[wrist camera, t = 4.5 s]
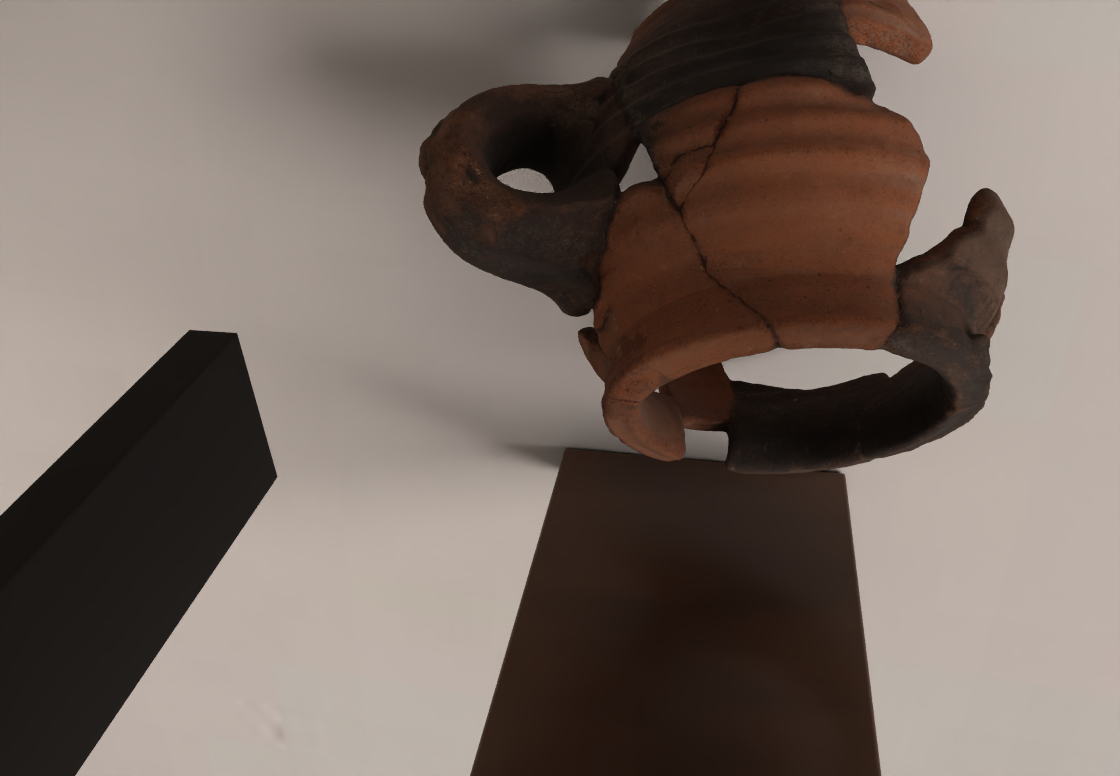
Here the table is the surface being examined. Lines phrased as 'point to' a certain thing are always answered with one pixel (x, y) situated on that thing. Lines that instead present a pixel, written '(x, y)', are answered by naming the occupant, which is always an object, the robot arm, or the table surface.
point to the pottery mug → (736, 230)
